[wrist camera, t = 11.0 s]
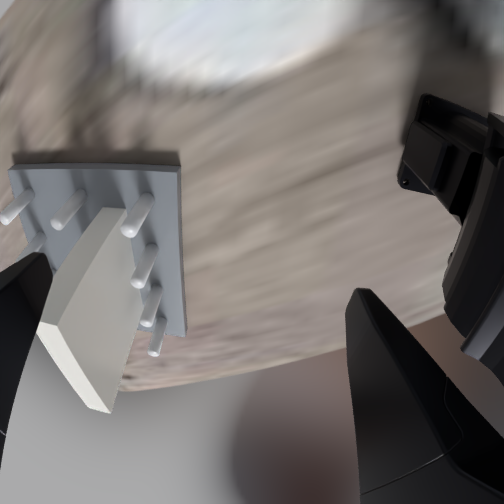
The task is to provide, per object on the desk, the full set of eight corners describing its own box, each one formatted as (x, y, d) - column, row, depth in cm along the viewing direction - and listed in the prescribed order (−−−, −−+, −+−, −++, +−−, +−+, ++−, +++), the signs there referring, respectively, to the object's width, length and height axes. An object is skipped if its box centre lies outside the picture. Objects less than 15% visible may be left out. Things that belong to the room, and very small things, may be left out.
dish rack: (180, 166, 19) (160, 200, 15) (187, 328, 29) (178, 369, 25) (15, 164, 18) (-21, 193, 15) (61, 307, 28) (44, 339, 25)
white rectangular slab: (126, 208, 20) (56, 326, 12) (143, 309, 26) (111, 413, 18) (102, 207, 20) (28, 318, 12) (124, 306, 26) (88, 407, 18)
